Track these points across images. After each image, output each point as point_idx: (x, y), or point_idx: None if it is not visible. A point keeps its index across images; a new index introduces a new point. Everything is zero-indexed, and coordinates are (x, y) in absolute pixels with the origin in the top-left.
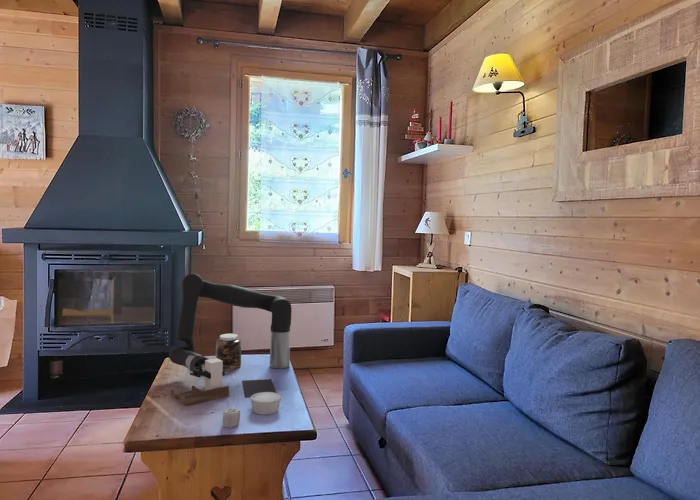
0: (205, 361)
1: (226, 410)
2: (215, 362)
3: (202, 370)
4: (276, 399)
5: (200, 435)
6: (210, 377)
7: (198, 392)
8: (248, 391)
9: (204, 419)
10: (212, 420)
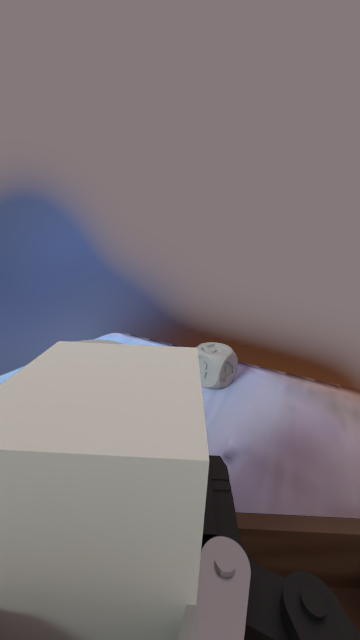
0: (205, 464)
1: (224, 353)
2: (141, 347)
3: (249, 583)
4: (86, 341)
5: (290, 378)
6: None
7: (291, 522)
8: None
9: (270, 427)
10: (247, 412)
